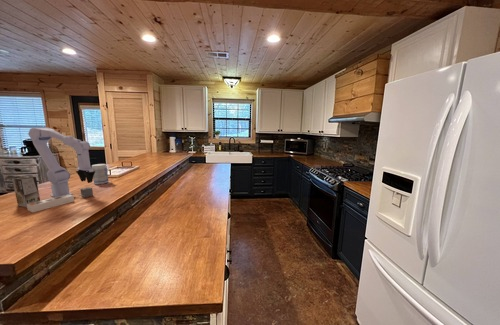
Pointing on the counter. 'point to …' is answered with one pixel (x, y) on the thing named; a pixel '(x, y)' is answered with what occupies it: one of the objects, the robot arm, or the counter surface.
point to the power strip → (50, 203)
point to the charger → (86, 192)
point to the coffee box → (26, 190)
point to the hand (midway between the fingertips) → (86, 181)
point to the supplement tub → (100, 174)
